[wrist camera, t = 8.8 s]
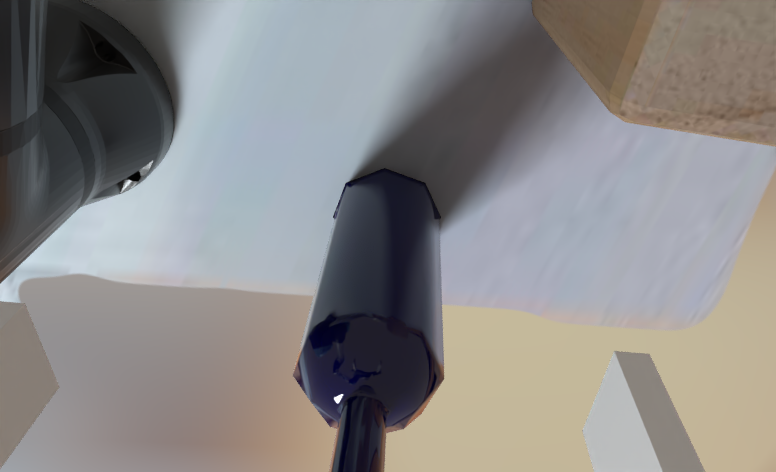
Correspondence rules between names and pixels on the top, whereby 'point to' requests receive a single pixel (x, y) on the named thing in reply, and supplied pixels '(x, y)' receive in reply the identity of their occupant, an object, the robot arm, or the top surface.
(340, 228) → the bottle
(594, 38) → the wooden block
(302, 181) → the top surface
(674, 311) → the top surface
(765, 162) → the top surface
